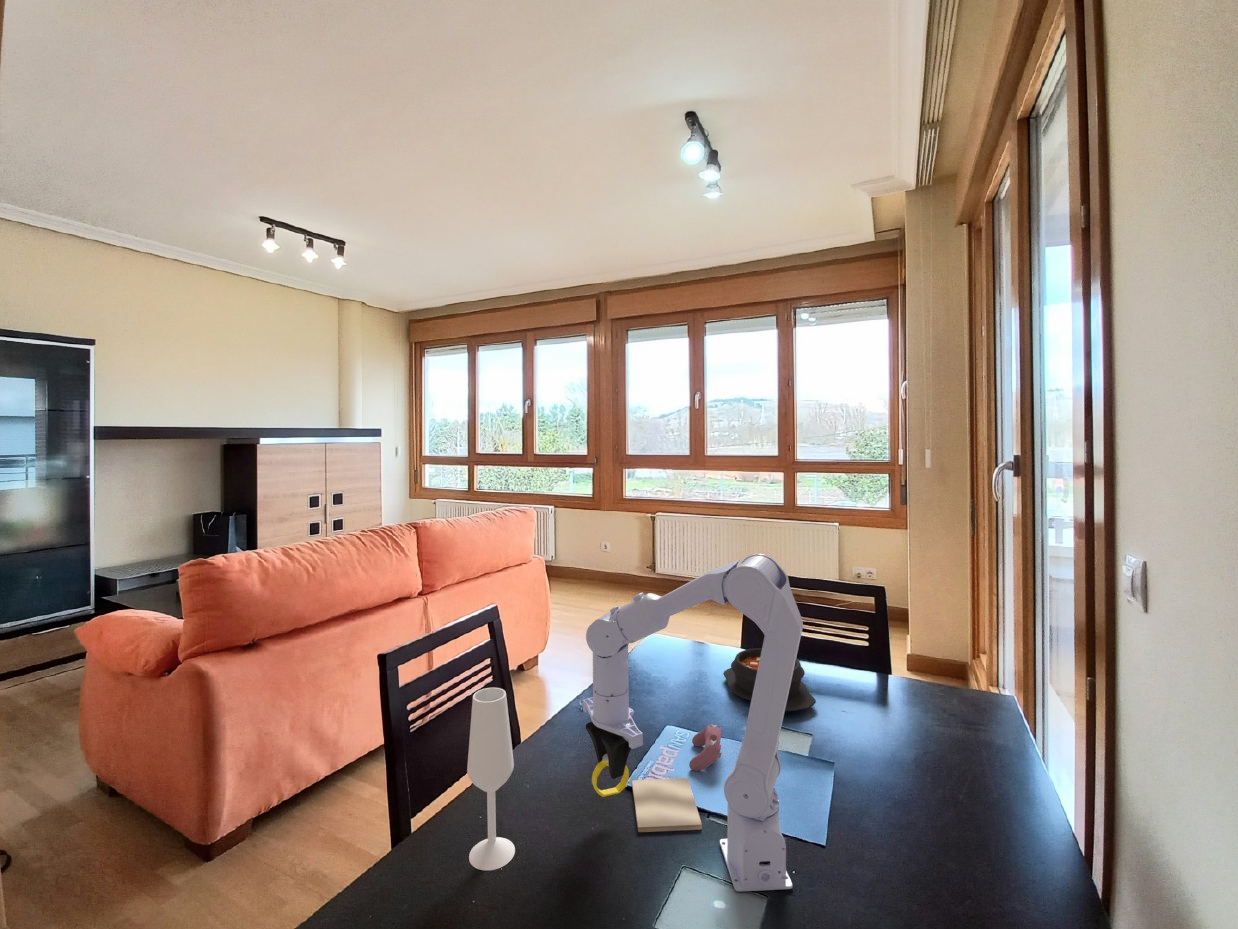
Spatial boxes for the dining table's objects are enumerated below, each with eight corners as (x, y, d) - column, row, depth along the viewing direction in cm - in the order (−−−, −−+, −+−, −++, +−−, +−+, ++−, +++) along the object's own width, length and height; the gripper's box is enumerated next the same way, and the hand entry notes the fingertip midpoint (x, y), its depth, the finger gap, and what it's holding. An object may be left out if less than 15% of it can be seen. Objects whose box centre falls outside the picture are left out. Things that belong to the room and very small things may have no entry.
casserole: (835, 710, 126) (836, 673, 126) (767, 726, 119) (768, 688, 119) (766, 668, 149) (766, 636, 149) (705, 679, 142) (706, 647, 142)
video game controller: (709, 782, 103) (727, 751, 102) (686, 769, 103) (704, 737, 102) (710, 752, 112) (727, 723, 111) (690, 740, 113) (706, 711, 112)
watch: (596, 803, 89) (595, 767, 88) (590, 793, 91) (589, 758, 91) (630, 793, 91) (630, 757, 91) (623, 783, 94) (623, 748, 93)
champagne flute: (524, 853, 83) (521, 695, 82) (483, 878, 79) (480, 710, 77) (499, 830, 88) (497, 680, 87) (460, 852, 83) (457, 694, 82)
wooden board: (701, 829, 88) (701, 824, 88) (638, 832, 88) (638, 827, 87) (688, 782, 100) (688, 778, 100) (632, 784, 99) (632, 780, 99)
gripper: (658, 699, 86) (658, 785, 87) (606, 667, 98) (607, 743, 99) (620, 712, 82) (621, 801, 83) (571, 677, 94) (572, 756, 95)
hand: (611, 771), depth 91 cm, fingers closed on watch, 3 cm apart
